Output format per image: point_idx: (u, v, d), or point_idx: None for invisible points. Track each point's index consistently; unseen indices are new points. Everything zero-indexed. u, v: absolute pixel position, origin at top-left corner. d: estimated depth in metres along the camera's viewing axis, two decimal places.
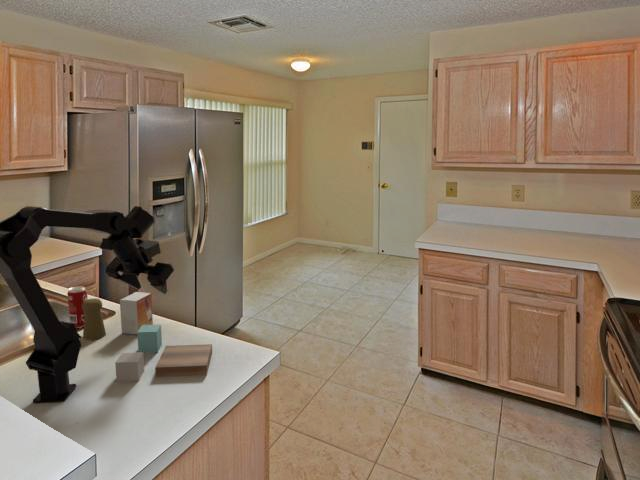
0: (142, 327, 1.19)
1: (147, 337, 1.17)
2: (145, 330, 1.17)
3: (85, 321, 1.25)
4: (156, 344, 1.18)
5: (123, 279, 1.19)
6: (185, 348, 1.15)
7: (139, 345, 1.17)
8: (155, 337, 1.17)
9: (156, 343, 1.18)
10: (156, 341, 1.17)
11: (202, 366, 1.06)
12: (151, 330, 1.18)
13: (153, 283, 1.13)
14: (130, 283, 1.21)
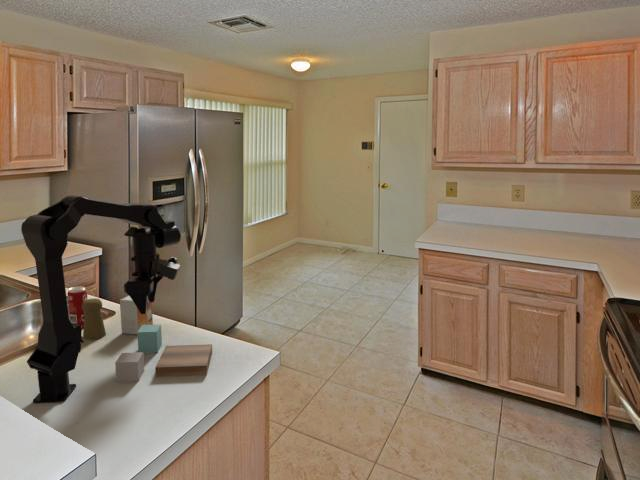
0: (142, 327, 1.19)
1: (147, 337, 1.17)
2: (146, 330, 1.17)
3: (85, 321, 1.25)
4: (156, 344, 1.18)
5: None
6: (185, 348, 1.15)
7: (139, 345, 1.17)
8: (155, 337, 1.17)
9: (156, 343, 1.18)
10: (156, 341, 1.17)
11: (202, 367, 1.06)
12: (151, 330, 1.18)
13: None
14: None
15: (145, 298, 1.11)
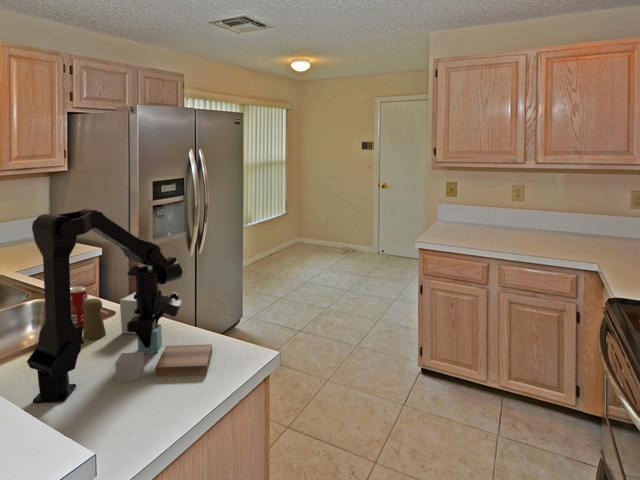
0: None
1: None
2: None
3: (85, 321, 1.25)
4: (156, 344, 1.18)
5: None
6: (185, 348, 1.15)
7: (139, 345, 1.17)
8: (155, 337, 1.17)
9: (156, 343, 1.18)
10: (156, 341, 1.17)
11: (202, 367, 1.06)
12: None
13: None
14: None
15: (149, 333, 1.15)
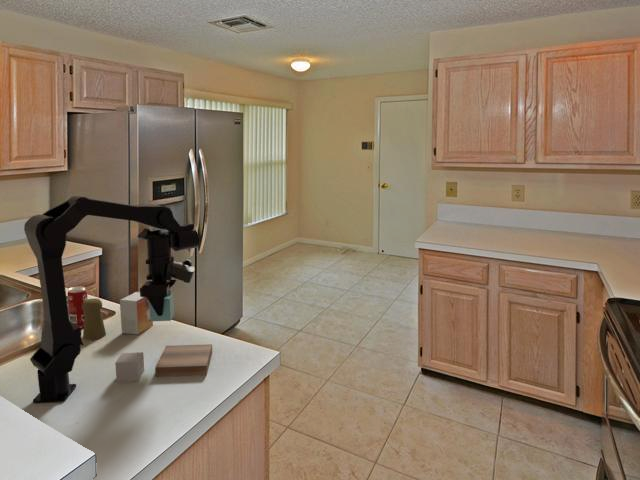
0: None
1: None
2: None
3: (85, 321, 1.25)
4: (169, 312, 1.12)
5: None
6: (185, 348, 1.15)
7: (151, 313, 1.12)
8: (168, 304, 1.12)
9: (169, 311, 1.12)
10: (169, 308, 1.12)
11: (202, 367, 1.06)
12: None
13: None
14: None
15: (162, 300, 1.10)
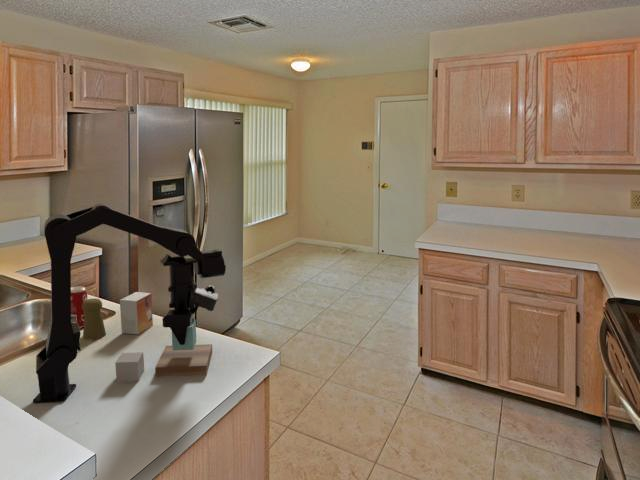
0: None
1: None
2: None
3: (85, 321, 1.25)
4: (192, 340, 1.08)
5: None
6: None
7: (173, 341, 1.08)
8: (191, 333, 1.08)
9: (192, 339, 1.08)
10: (192, 337, 1.08)
11: (202, 367, 1.06)
12: None
13: None
14: None
15: (185, 329, 1.06)
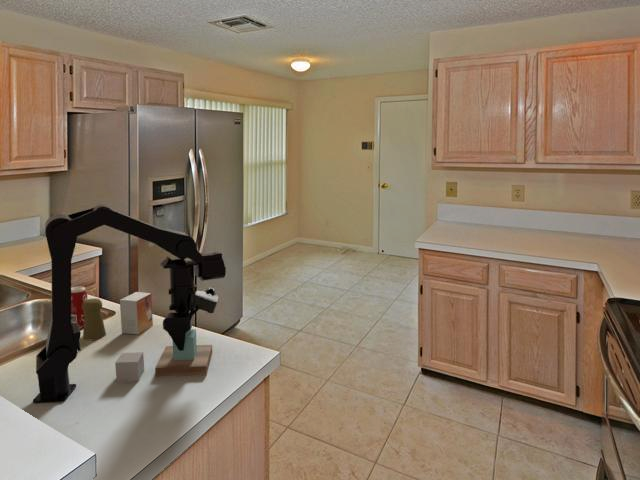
0: None
1: None
2: None
3: (85, 321, 1.25)
4: (192, 351, 1.09)
5: None
6: None
7: (174, 352, 1.08)
8: (191, 343, 1.08)
9: (192, 349, 1.09)
10: (192, 347, 1.09)
11: (202, 367, 1.06)
12: (186, 335, 1.09)
13: None
14: None
15: (184, 334, 1.04)
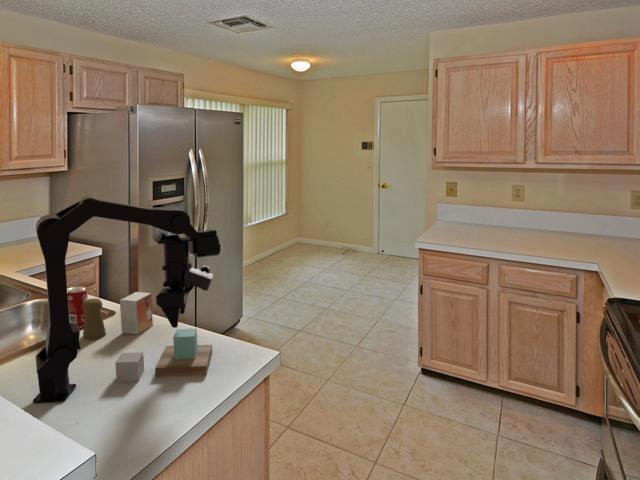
0: (177, 331, 1.11)
1: (184, 342, 1.09)
2: (182, 335, 1.09)
3: (85, 321, 1.25)
4: (193, 350, 1.09)
5: None
6: None
7: (175, 351, 1.09)
8: (192, 342, 1.09)
9: (193, 348, 1.09)
10: (193, 346, 1.09)
11: (202, 367, 1.06)
12: (187, 334, 1.10)
13: None
14: None
15: (177, 311, 1.03)
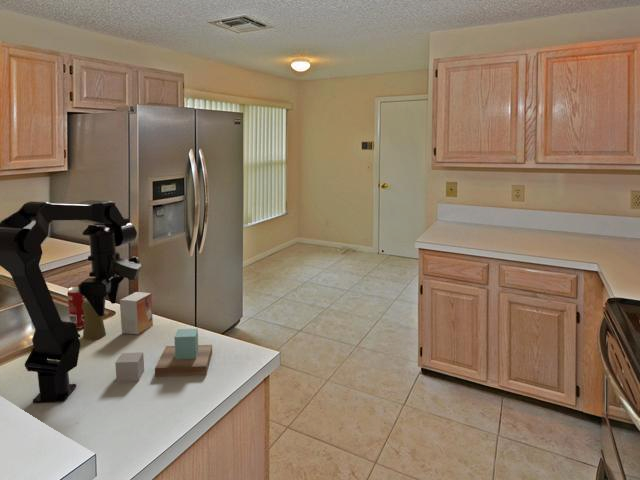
0: (178, 331, 1.11)
1: (185, 342, 1.09)
2: (183, 335, 1.09)
3: (85, 321, 1.25)
4: (194, 350, 1.09)
5: None
6: None
7: (176, 351, 1.09)
8: (193, 342, 1.09)
9: (194, 349, 1.09)
10: (194, 346, 1.09)
11: (202, 367, 1.06)
12: (188, 334, 1.10)
13: None
14: None
15: (102, 299, 1.06)
